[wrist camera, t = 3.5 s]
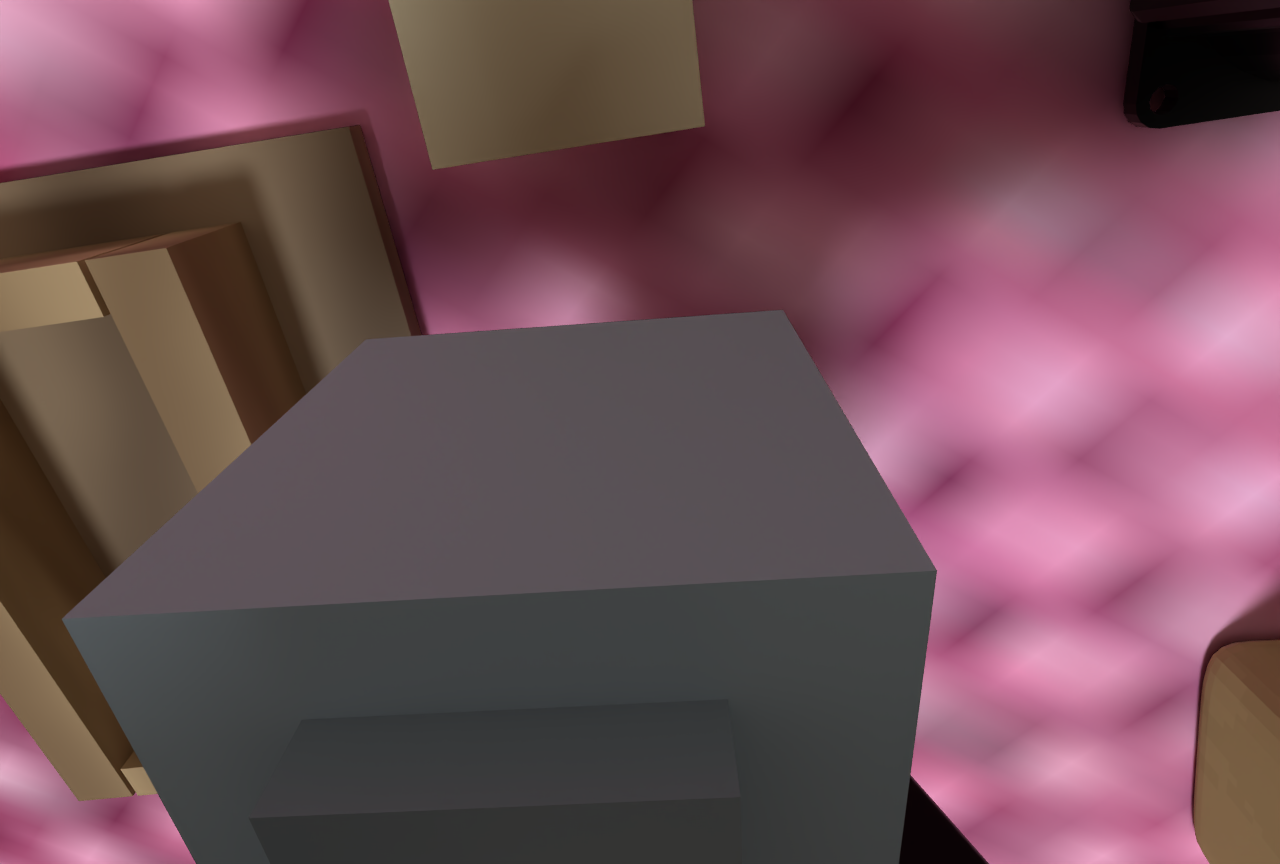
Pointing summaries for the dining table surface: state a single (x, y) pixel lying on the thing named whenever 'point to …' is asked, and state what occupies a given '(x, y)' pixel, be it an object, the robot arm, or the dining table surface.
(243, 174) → the tray
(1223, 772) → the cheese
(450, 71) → the tan rectangular block
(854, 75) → the dining table surface
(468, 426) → the grey block
